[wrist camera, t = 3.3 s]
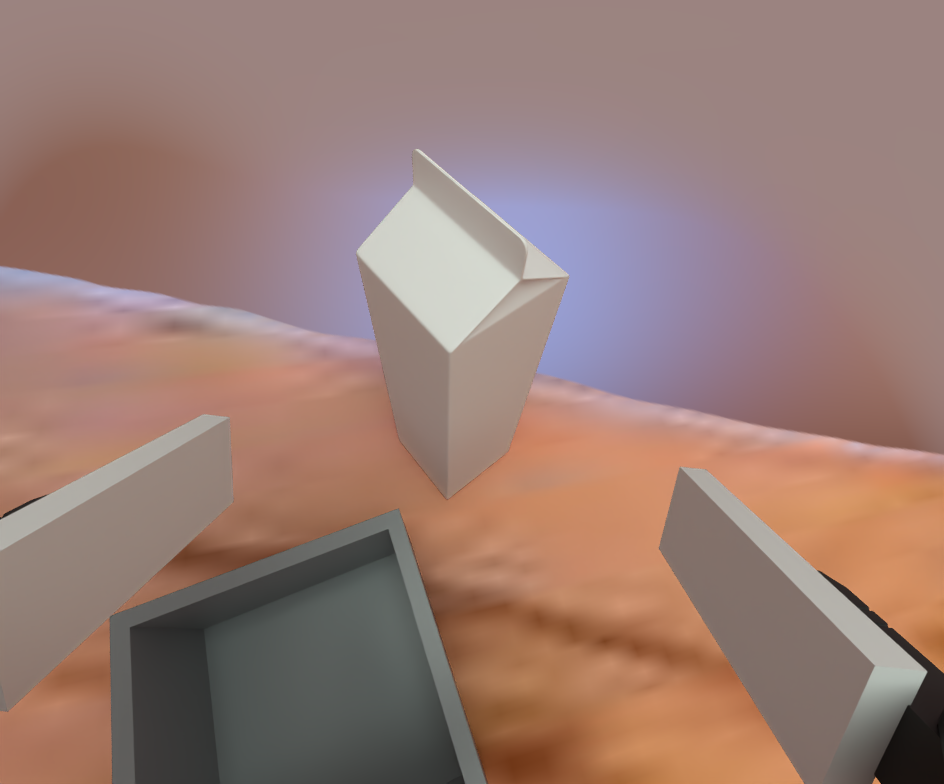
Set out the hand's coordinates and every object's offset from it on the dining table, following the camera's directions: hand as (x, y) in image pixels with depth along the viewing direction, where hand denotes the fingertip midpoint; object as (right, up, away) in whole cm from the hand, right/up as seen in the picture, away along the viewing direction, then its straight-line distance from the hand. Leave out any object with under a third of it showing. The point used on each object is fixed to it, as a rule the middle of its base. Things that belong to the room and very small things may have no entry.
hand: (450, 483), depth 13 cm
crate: (-7, -15, +13) cm, 21 cm away
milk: (-1, -1, +21) cm, 21 cm away
